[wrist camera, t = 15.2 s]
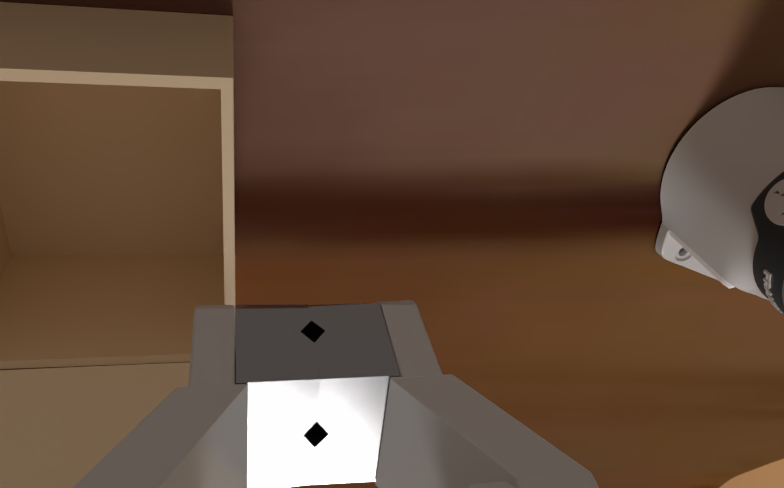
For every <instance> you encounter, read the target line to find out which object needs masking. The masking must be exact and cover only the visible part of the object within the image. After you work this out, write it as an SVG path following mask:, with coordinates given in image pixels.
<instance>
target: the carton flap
mask: <svg viewBox="0 0 784 488" xmlns="http://www.w3.org/2000/svg"><path fill="white" fill-rule="evenodd" d="M189 369H190V363H168V364H144V365H119V366H94V367H70V368H45V369H20V370H0V488H73V487H74V486H75V485H76V484H77V483H78V482H79V481H80V480H81V479H82V478H83V477H84V476H85V475H86V474H87V473H88V472H89V471H90V470H91V469H93V468H94V467H95V466H96V465H97V464H98V463H99V462H100V461H101V460H102V459H103V458H104V457H105V456H106V455H107V454H108V453H109V452H110V451H111V450H112V449H113V448H114V447H115V446H116V445H117V444H118V443H119V442H120V441H122V440H123V439H124V438H125V437H126V436H127V435H128V434H129V433H130V432H131V431H132V430H133V429H134V428H135V427H136V426H137V425H138V424H139V423H140V422H141V421H142V420H143V419H144V418H145V417H146V416H147V415H148V414H149V413H151V412H152V411H153V410H154V409H155V408H156V407H157V406H158V405H159V404H160V403H161V402H162V401H163V400H164V399H165V398H166V397H167V396H168V395H169V394H170V393H171V392H172V391H173V390H174V389H175V388H177V387H188V382H189Z"/></svg>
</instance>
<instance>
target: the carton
mask: <svg viewBox="0 0 784 488" xmlns="http://www.w3.org/2000/svg"><path fill="white" fill-rule="evenodd" d="M198 305H233V306H234V308H235V178H234V52H233V16H227V15H210V14H194V13H177V12H160V11H144V10H127V9H110V8H94V7H77V6H61V5H44V4H27V3H11V2H0V369H18V368H43V367H67V366H92V365H117V364H142V363H167V362H190V357H191V344H192V331H193V319H194V311H195V308H196V306H198Z"/></svg>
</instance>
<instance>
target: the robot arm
mask: <svg viewBox="0 0 784 488" xmlns="http://www.w3.org/2000/svg"><path fill="white" fill-rule="evenodd" d="M660 199H661V209H662V224H661V227H660V230H659V233H658V236H657V240H656V246H655V248H656V251H657V253H658V254H659V255H661V256H662V257H663V258H665V259H666V260H669V261H671V262H674V263H676V264H679V265H681V266H684V267H686V268H689V269H691V270H694V271H696V272H699V273H701V274H704V275H706V276H709V277H712V278H714V279H717V280H719V281H720V282H721V283H722V284H723V285H725V286H726V287H728V288H733V287H736V288H738V289H740V290H742V291H745V292H748V293H751V294H754V295H757V296H760V297H762V298H765V299H768V300H769V301H770V302H771V303H772V305H773V306H774V307H775V308H776V309H777V310H778V311H779V312H781V313H782V314H784V87H766V88H759V89H754V90H750V91H747V92H744V93H741V94H739V95H736V96H734V97H732V98H730V99H728V100H726V101H724V102H722V103H721V104H719V105H718V106H716V107H715V108H713V109H712V110H710V111H709V112H708V113H707V114H705V115H704V116H703V117H702V118H701V119H700V120H698V121H697V122H696V123H695V124H694V125H693V126H692V127H691V129H690V130H689V131H688V132H687V133H686V134H685V136H684V137H683V138H682V139H681V141H680V142H679V144H678V145H677V147H676V148H675V150H674V152H673V154H672V155H671V157H670V159H669V162H668V164H667V166H666V169H665V172H664V175H663V179H662V184H661V194H660ZM682 248H683V249H682ZM680 249H682V250H681V251H680ZM374 481H376V486H377V487H378V488H599V487H598V485H597V483H596V481H595V479H594V477H593V475H592V473H591V472H590V471H588V470H587V469H585V468H584V467H583V466H581V465H580V464H578V463H577V462H576V461H574V460H573V459H571V458H570V457H568V456H567V455H566V454H564V453H563V452H561V451H560V450H559V449H557V448H556V447H554V446H553V445H551V444H550V443H549V442H547V441H546V440H544V439H543V438H542V437H540V436H539V435H537V434H536V433H535V432H533V431H532V430H530V429H529V428H527V427H526V426H525V425H523V424H522V423H520V422H519V421H518V420H516V419H515V418H513V417H512V416H510V415H509V414H508V413H506V412H505V411H503V410H502V409H501V408H499V407H498V406H496V405H495V404H493V403H492V402H491V401H489V400H488V399H486V398H485V397H484V396H482V395H481V394H479V393H478V392H476V391H475V390H474V389H472V388H471V387H469V386H468V385H467V384H465V383H464V382H462V381H461V380H460V379H458V378H457V377H455V376H454V375H442V372H441V370H440V367H439V364H438V362H437V359H436V356H435V353H434V351H433V348H432V345H431V343H430V340H429V337H428V335H427V332H426V329H425V327H424V324H423V321H422V318H421V316H420V313H419V310H418V308H417V305H416V303H414V302H413V301H412V300H405V301H386V302H378V303H363V304H332V305H235V308H234V306H233V305H198V306H196V308H195V311H194V319H193V331H192V344H191V357H190V369H189V382H188V387H177V388H175V389H174V390H173V391H172V392H171V393H170V394H169V395H168V396H167V397H166V398H165V399H164V400H163V401H162V402H161V403H160V404H159V405H158V406H157V407H156V408H155V409H154V410H153V411H152V412H151V413H149V414H148V415H147V416H146V417H145V418H144V419H143V420H142V421H141V422H140V423H139V424H138V425H137V426H136V427H135V428H134V429H133V430H132V431H131V432H130V433H129V434H128V435H127V436H126V437H125V438H124V439H123V440H122V441H120V442H119V443H118V444H117V445H116V446H115V447H114V448H113V449H112V450H111V451H110V452H109V453H108V454H107V455H106V456H105V457H104V458H103V459H102V460H101V461H100V462H99V463H98V464H97V465H96V466H95V467H94V468H93V469H91V470H90V471H89V472H88V473H87V474H86V475H85V476H84V477H83V478H82V479H81V480H80V481H79V482H78V483H77V484H76V485H75V486H74V487H73V488H284V487H294V486H303V485H312V484H313V485H314V484H334V483H354V482H374Z"/></svg>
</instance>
